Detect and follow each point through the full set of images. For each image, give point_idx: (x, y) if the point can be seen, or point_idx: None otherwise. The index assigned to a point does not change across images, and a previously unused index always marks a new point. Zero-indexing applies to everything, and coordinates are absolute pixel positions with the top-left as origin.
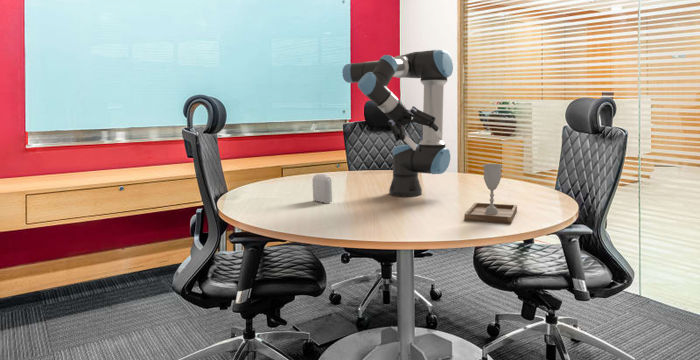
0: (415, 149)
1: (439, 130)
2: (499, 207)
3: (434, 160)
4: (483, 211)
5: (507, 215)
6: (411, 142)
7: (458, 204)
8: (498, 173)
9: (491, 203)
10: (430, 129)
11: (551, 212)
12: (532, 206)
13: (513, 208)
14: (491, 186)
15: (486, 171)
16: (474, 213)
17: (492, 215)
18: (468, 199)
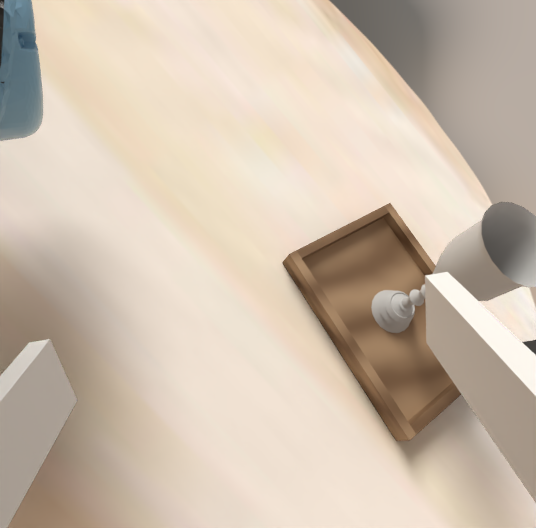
0: (74, 396)
1: (476, 300)
2: (353, 233)
3: (4, 108)
4: (362, 310)
5: None
6: (19, 434)
7: (193, 243)
8: (520, 262)
9: (412, 304)
10: (530, 477)
11: (432, 172)
12: (358, 135)
13: (419, 250)
14: None
15: (505, 290)
16: (369, 357)
17: None
18: (156, 150)
